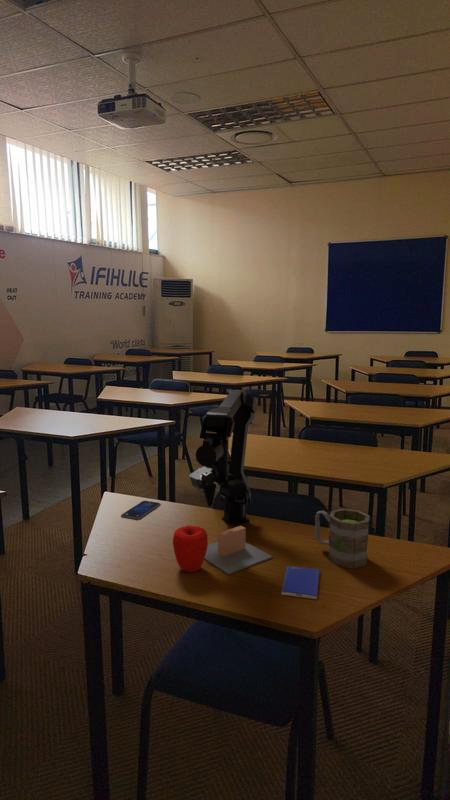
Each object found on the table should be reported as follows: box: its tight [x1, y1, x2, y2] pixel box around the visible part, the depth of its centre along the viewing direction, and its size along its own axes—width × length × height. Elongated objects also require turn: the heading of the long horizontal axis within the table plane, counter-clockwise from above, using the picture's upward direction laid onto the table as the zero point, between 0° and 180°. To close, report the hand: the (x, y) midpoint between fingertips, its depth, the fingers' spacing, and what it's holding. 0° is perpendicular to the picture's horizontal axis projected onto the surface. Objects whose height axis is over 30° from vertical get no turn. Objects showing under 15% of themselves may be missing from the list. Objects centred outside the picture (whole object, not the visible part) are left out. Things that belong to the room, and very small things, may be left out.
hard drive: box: [280, 565, 321, 600], centre depth 122 cm, size 2×8×12 cm
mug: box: [314, 508, 371, 569], centre depth 136 cm, size 16×11×12 cm
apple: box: [172, 525, 209, 573], centre depth 129 cm, size 9×9×11 cm
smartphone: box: [120, 500, 162, 521], centre depth 168 cm, size 7×1×15 cm
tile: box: [217, 525, 247, 557], centre depth 138 cm, size 8×2×6 cm, turn 128°
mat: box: [204, 541, 273, 575], centre depth 137 cm, size 15×16×1 cm
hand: (217, 510), depth 142 cm, fingers open, 7 cm apart
